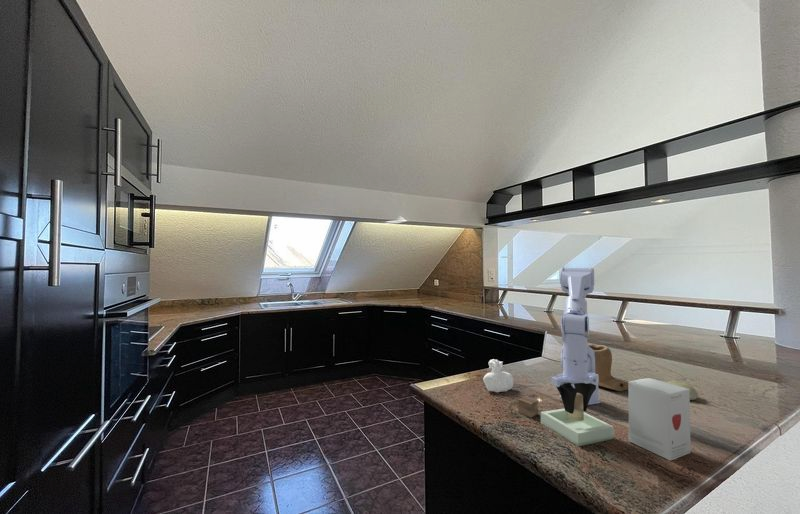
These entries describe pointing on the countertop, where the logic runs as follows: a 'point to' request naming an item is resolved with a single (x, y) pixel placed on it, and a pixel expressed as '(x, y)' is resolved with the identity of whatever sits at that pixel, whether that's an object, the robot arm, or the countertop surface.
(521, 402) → the walnut cube
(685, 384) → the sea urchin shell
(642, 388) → the supplement box
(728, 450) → the countertop surface
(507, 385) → the bust
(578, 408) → the beech cylinder
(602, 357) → the brown boot
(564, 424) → the tray
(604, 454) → the countertop surface
